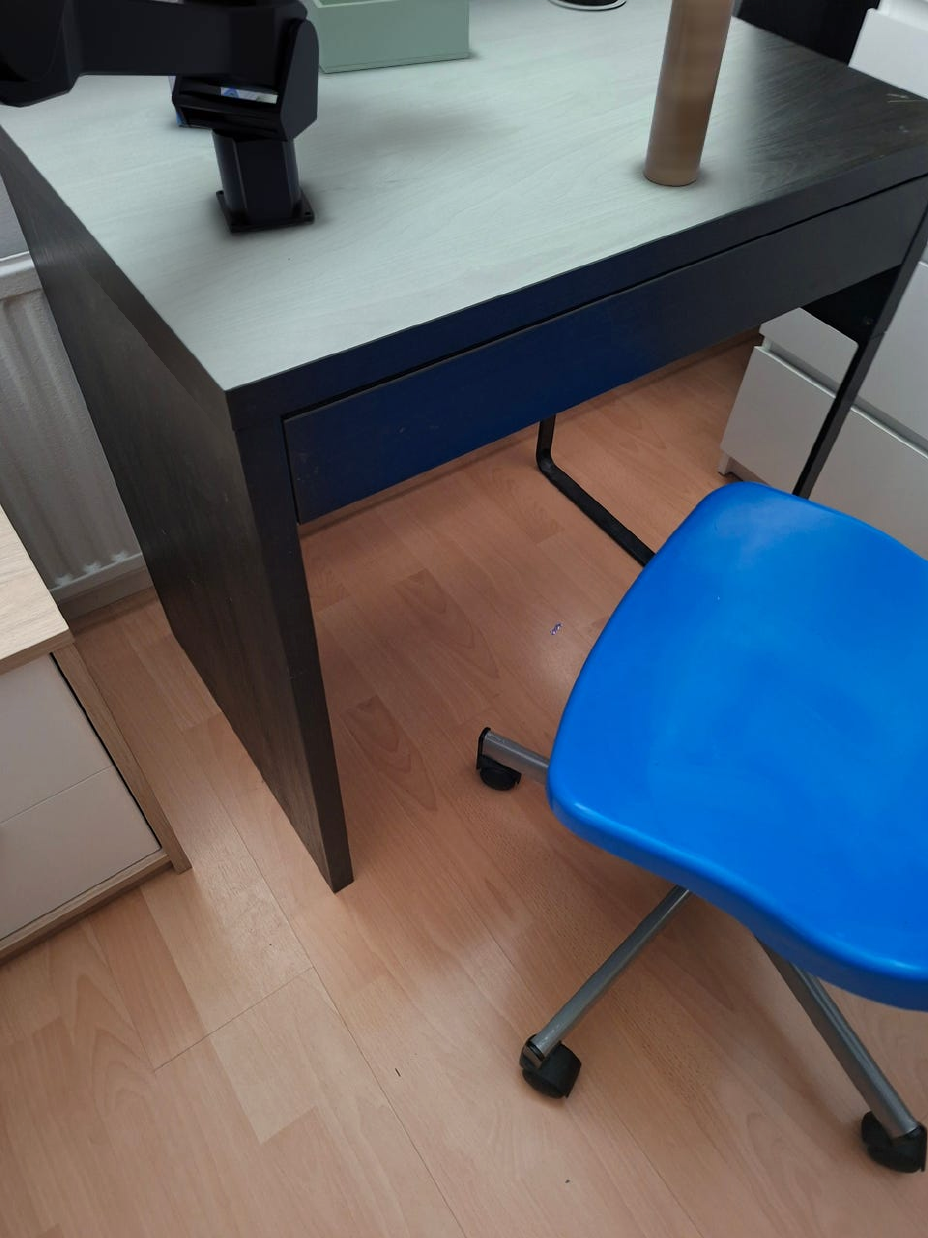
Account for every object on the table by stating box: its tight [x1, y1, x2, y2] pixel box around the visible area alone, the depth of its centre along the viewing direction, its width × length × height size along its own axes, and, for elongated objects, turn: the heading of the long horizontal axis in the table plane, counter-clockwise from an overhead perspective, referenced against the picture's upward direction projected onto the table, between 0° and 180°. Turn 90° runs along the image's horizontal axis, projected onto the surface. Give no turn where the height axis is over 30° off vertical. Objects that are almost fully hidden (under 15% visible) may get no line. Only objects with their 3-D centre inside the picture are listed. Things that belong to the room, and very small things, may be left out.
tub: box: [300, 0, 470, 74], centre depth 88 cm, size 15×15×6 cm
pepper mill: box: [643, 0, 736, 187], centre depth 65 cm, size 4×4×15 cm
